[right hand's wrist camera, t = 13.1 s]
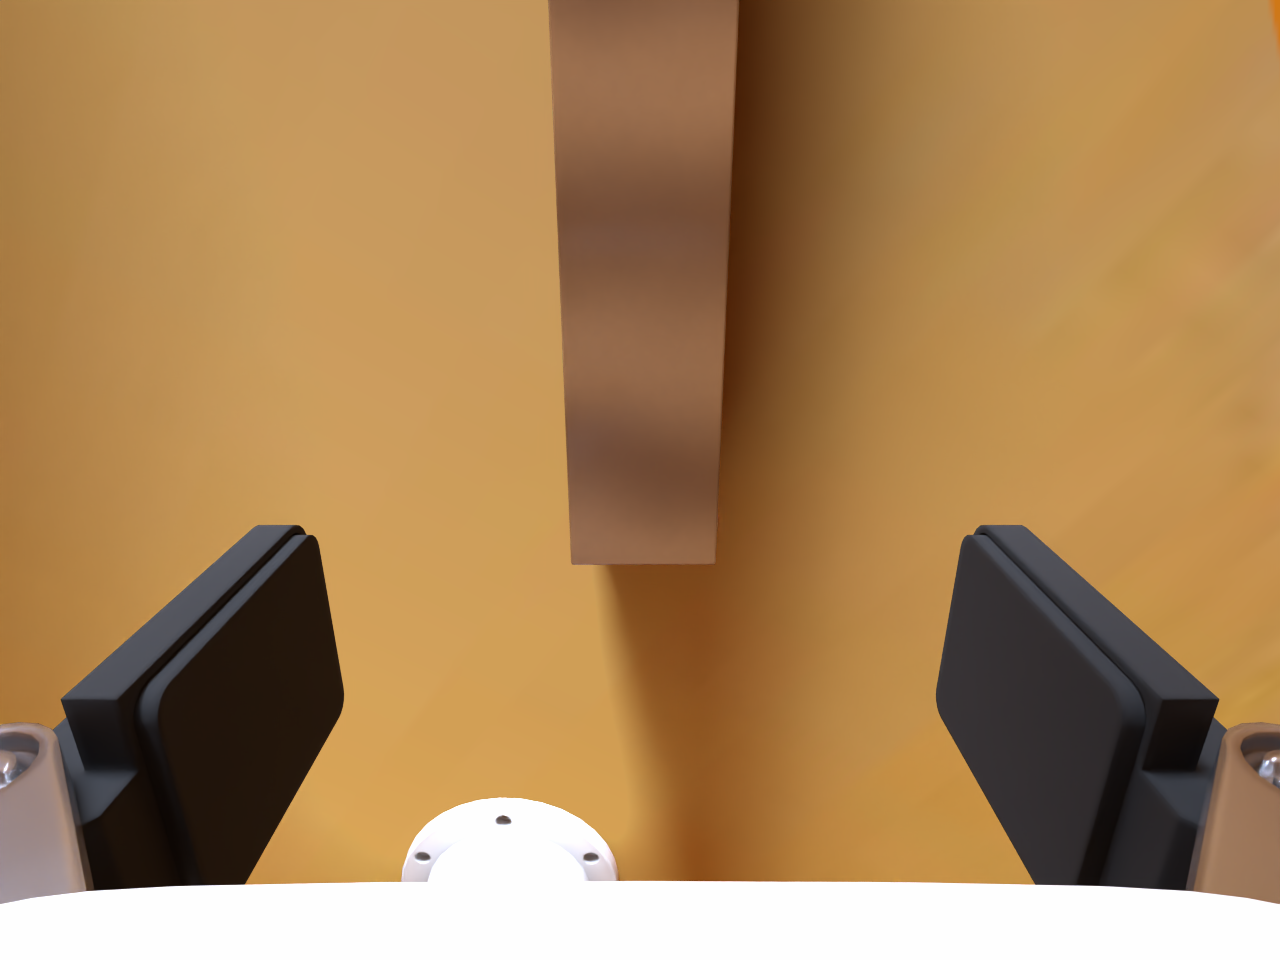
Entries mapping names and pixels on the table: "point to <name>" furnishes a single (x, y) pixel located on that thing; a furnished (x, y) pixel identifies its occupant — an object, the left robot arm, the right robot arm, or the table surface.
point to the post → (643, 269)
